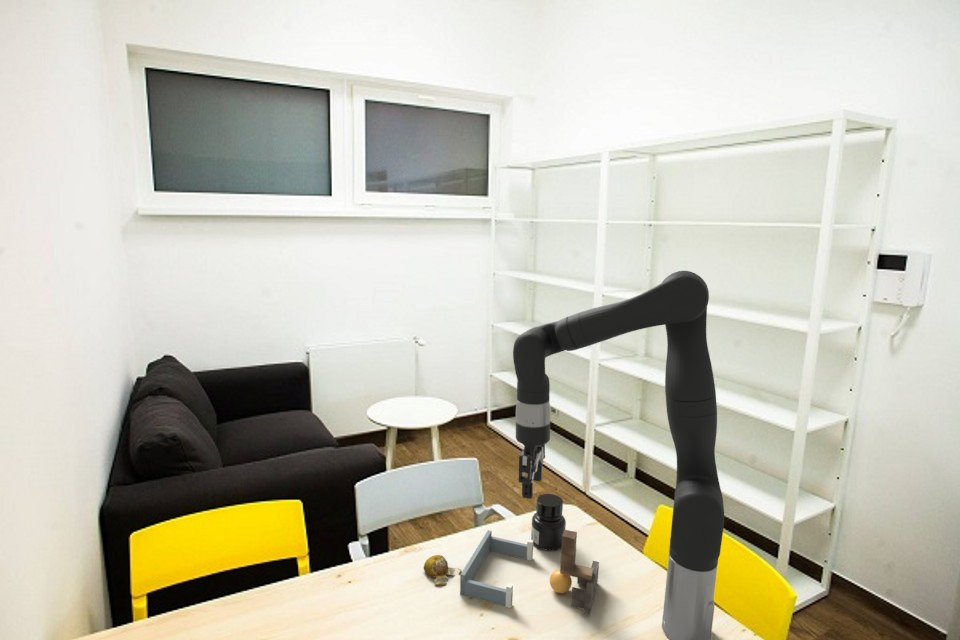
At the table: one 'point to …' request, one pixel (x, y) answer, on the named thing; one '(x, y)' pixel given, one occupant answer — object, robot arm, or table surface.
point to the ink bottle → (548, 522)
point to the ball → (560, 582)
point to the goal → (477, 559)
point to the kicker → (578, 573)
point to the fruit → (439, 569)
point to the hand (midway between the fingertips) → (532, 488)
